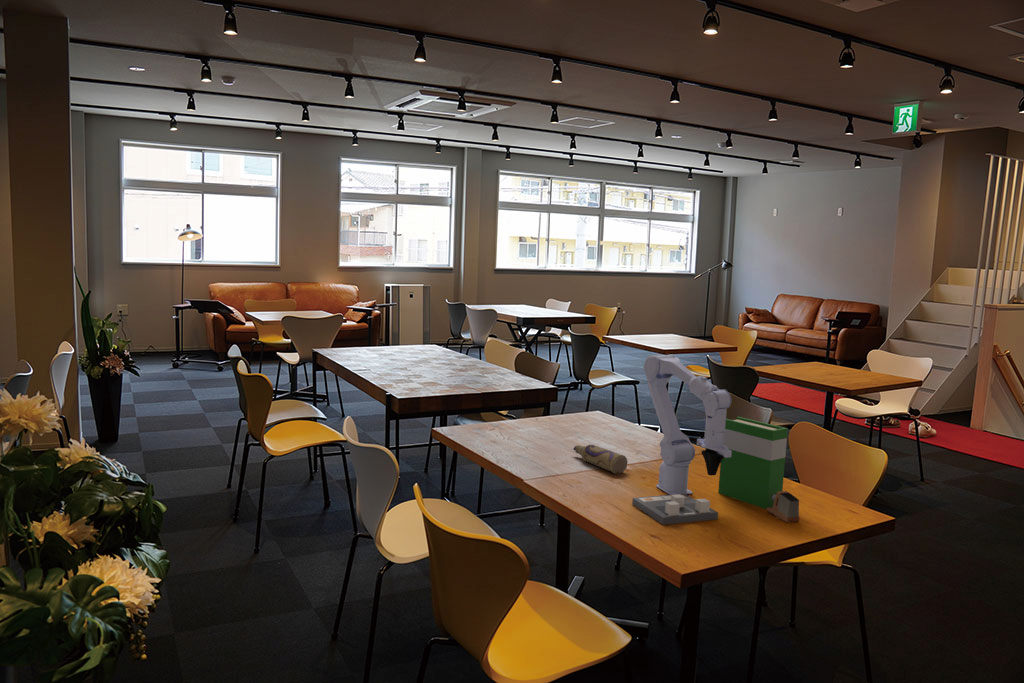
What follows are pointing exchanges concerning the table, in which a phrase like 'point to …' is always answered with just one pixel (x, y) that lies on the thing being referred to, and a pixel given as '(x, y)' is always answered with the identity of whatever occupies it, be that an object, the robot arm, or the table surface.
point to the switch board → (686, 514)
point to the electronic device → (785, 506)
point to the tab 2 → (702, 505)
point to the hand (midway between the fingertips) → (711, 474)
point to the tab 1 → (672, 508)
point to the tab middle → (678, 499)
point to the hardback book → (753, 461)
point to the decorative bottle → (602, 458)
